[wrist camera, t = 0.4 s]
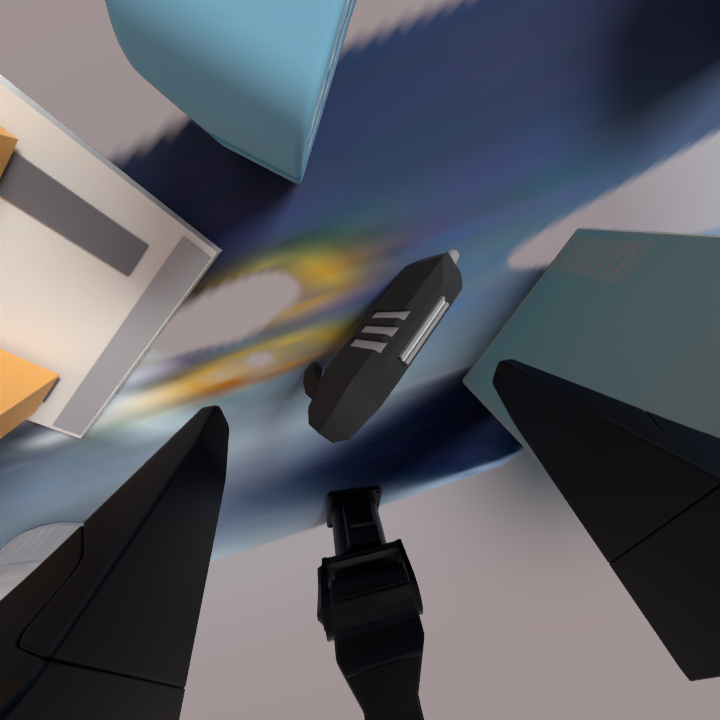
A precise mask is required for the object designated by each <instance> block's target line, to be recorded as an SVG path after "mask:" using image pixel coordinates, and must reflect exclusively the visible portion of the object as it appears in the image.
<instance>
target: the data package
mask: <svg viewBox="0 0 720 720" xmlns="http://www.w3.org/2000/svg"><path fill="white" fill-rule="evenodd" d="M105 2H106V6H107V10H108V13H109V17H110V20H111V23H112V27H113V29H114V32H115V35H116V37H117V40H118V42H119V44H120V46H121V48H122V50H123V52H124V54H125V56H126V57H127V59H128V61H129V62H130V63H131V65H132V66H133V67H134V69H135V70H136V71H137V72H138V73H139V74H140V75H141V76H142V77H144V78H145V79H146V80H147V81H148V82H149V83H150V84H152V85H153V86H154V87H155V88H156V89H157V90H159V91H160V92H161V93H162V94H163V95H165V96H166V97H167V98H168V99H169V100H170V101H171V102H173V103H174V104H175V105H176V106H177V107H178V108H179V109H181V110H182V111H183V112H184V113H185V114H186V115H188V116H189V117H190V118H191V119H192V120H193V121H195V122H196V123H197V124H198V125H199V126H200V127H201V128H203V129H204V130H205V131H206V132H207V133H208V134H210V135H211V136H212V137H213V138H214V139H215V140H217V141H218V142H219V143H220V144H221V145H222V146H224V147H226V148H228V149H230V150H232V151H234V152H236V153H238V154H240V155H241V156H243V157H245V158H247V159H249V160H251V161H253V162H255V163H257V164H259V165H261V166H263V167H265V168H267V169H269V170H271V171H272V172H274V173H276V174H278V175H280V176H282V177H284V178H286V179H288V180H290V181H292V182H294V183H296V184H299V183H301V181H302V179H303V176H304V172H305V169H306V166H307V163H308V159H309V156H310V153H311V149H312V146H313V143H314V139H315V136H316V132H317V129H318V126H319V122H320V119H321V116H322V112H323V109H324V106H325V102H326V99H327V96H328V92H329V89H330V85H331V82H332V79H333V75H334V72H335V69H336V65H337V62H338V59H339V55H340V52H341V49H342V45H343V42H344V38H345V35H346V32H347V28H348V25H349V22H350V18H351V15H352V12H353V8H354V5H355V2H356V0H105Z"/></svg>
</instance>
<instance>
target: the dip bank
mask: <svg viewBox="0 0 720 720" xmlns="http://www.w3.org/2000/svg"><path fill="white" fill-rule="evenodd" d="M0 126H1V127H2V128H4V129H5V130H6V131H8V132H9V133H11V134H12V135H13V136H15V137H16V138H17V139H18V142H17V144H16V146H15V148H14V150H13V152H12V154H11V156H10V159H9V161H8V163H7V165H6V167H5V169H4V171H3V173H2V176H1V178H0V349H1V350H3V351H6V352H8V353H10V354H13V355H15V356H17V357H20V358H22V359H24V360H26V361H29V362H31V363H33V364H36V365H38V366H40V367H43V368H45V369H47V370H49V371H52V372H54V373H56V374H59V376H58V378H57V380H56V381H55V383H54V384H53V386H52V387H51V389H50V390H49V392H48V393H47V395H46V396H45V398H44V399H43V401H42V402H41V404H40V405H39V407H38V409H37V410H36V412H35V413H34V414H32V415H31V416H30V417H28V418H27V420H29V421H32V422H35V423H38V424H41V425H43V426H46V427H49V428H52V429H55V430H57V431H60V432H63V433H66V434H69V435H72V436H74V437H77V438H81V437H82V436H83V435H84V434H85V433H86V432H87V431H88V430H89V429H90V428H91V426H92V425H93V424H94V422H95V421H96V420H97V418H98V417H99V416H100V414H101V413H102V412H103V410H104V409H105V408H106V406H107V405H108V404H109V402H110V401H111V399H112V398H113V397H114V395H115V394H116V393H117V391H118V390H119V389H120V387H121V386H122V385H123V383H124V382H125V381H126V379H127V378H128V377H129V375H130V374H131V373H132V371H133V370H134V368H135V367H136V366H137V364H138V363H139V362H140V360H141V359H142V358H143V356H144V355H145V354H146V352H147V351H148V350H149V348H150V347H151V346H152V344H153V343H154V341H155V340H156V339H157V337H158V336H159V335H160V333H161V332H162V331H163V329H164V328H165V327H166V325H167V324H168V323H169V321H170V320H171V319H172V317H173V316H174V315H175V313H176V312H177V311H178V309H179V308H180V306H181V305H182V304H183V302H184V301H185V300H186V298H187V297H188V296H189V294H190V293H191V292H192V290H193V289H194V288H195V286H196V285H197V284H198V282H199V281H200V280H201V278H202V277H203V275H204V274H205V273H206V271H207V270H208V269H209V267H210V266H211V265H212V263H213V262H214V261H215V259H216V258H217V257H218V255H219V254H220V253H221V251H222V250H221V249H220V248H219V247H217V246H216V245H215V244H214V243H212V242H211V241H210V240H209V239H207V238H206V237H205V236H203V235H202V234H201V233H200V232H198V231H197V230H196V229H195V228H193V227H192V226H191V225H190V224H188V223H187V222H186V221H185V220H183V219H182V218H181V217H180V216H178V215H177V214H176V213H174V212H173V211H172V210H171V209H169V208H168V207H167V206H166V205H164V204H163V203H162V202H161V201H159V200H158V199H157V198H156V197H154V196H153V195H152V194H150V193H149V192H148V191H147V190H145V189H144V188H143V187H142V186H140V185H139V184H138V183H137V182H135V181H134V180H133V179H132V178H130V177H129V176H128V175H127V174H125V173H124V172H123V171H121V170H120V169H119V168H118V167H116V166H115V165H114V164H113V163H111V162H110V161H109V160H108V159H106V158H105V157H104V156H103V155H101V154H100V153H99V152H97V151H96V150H95V149H94V148H92V147H91V146H90V145H89V144H87V143H86V142H85V141H84V140H82V139H81V138H80V137H78V136H77V135H76V134H75V133H74V132H72V131H71V130H70V129H68V128H67V127H66V126H65V125H63V124H62V123H61V122H60V121H58V120H57V119H56V118H55V117H53V116H52V115H51V114H50V113H48V112H47V111H46V110H44V109H43V108H42V107H41V106H39V105H38V104H37V103H36V102H34V101H33V100H32V99H30V98H29V97H28V96H27V95H25V94H24V93H23V92H22V91H20V90H19V89H18V88H17V87H15V86H14V85H13V84H12V83H10V82H9V81H8V80H7V79H5V78H4V77H3V76H2V75H0Z"/></svg>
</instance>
